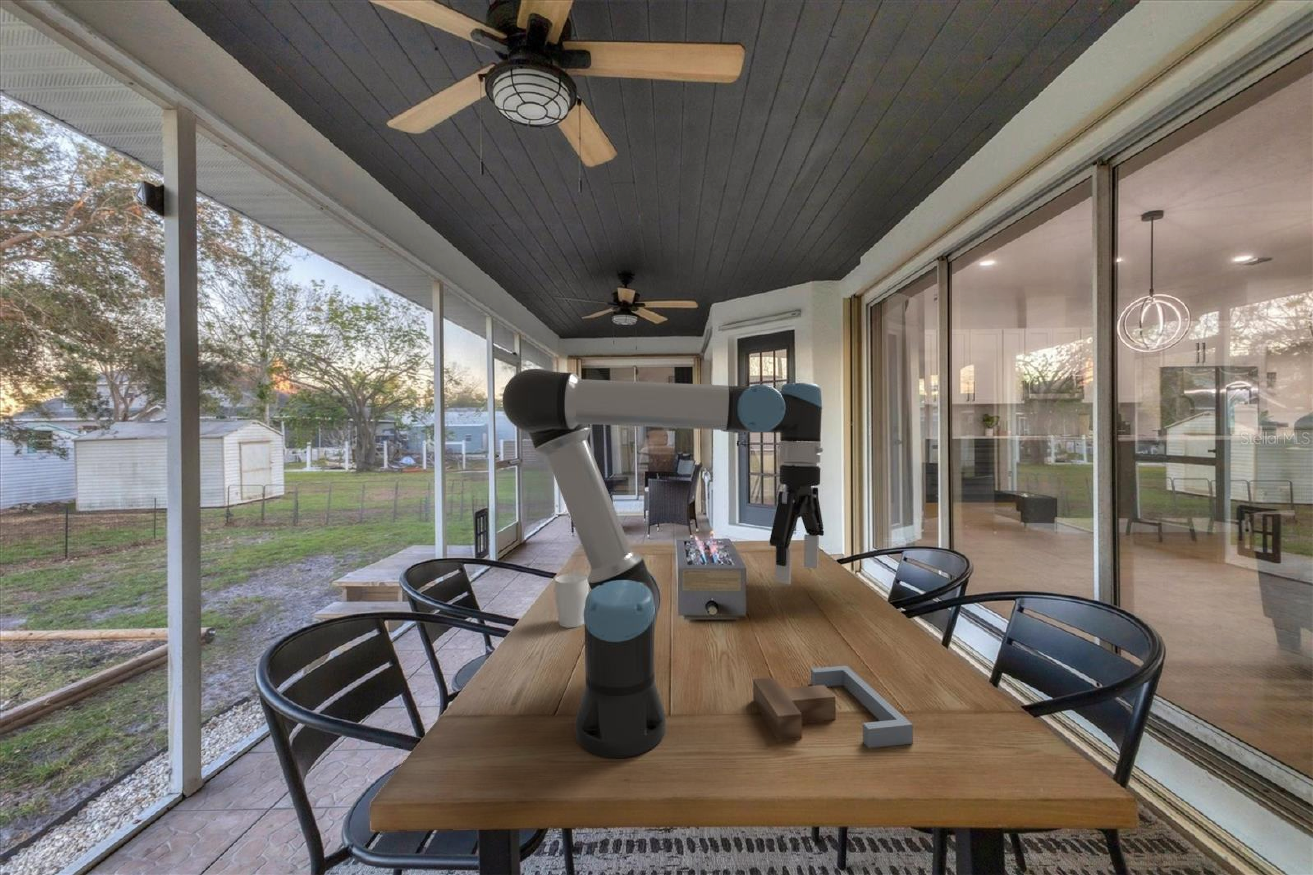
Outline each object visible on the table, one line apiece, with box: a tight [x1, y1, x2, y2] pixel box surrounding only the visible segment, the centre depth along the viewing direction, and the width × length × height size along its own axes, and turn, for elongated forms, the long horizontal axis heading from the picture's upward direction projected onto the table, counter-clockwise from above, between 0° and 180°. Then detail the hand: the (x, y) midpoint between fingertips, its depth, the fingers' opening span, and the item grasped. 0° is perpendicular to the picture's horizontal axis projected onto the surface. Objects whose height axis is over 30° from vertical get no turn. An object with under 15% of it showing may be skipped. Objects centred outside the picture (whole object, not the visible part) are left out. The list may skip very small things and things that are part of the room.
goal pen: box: [810, 665, 914, 749], centre depth 86 cm, size 8×20×3 cm, turn 8°
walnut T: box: [752, 677, 837, 742], centre depth 85 cm, size 12×12×4 cm
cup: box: [554, 573, 590, 629], centre depth 128 cm, size 9×9×12 cm
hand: (797, 574), depth 93 cm, fingers open, 13 cm apart
